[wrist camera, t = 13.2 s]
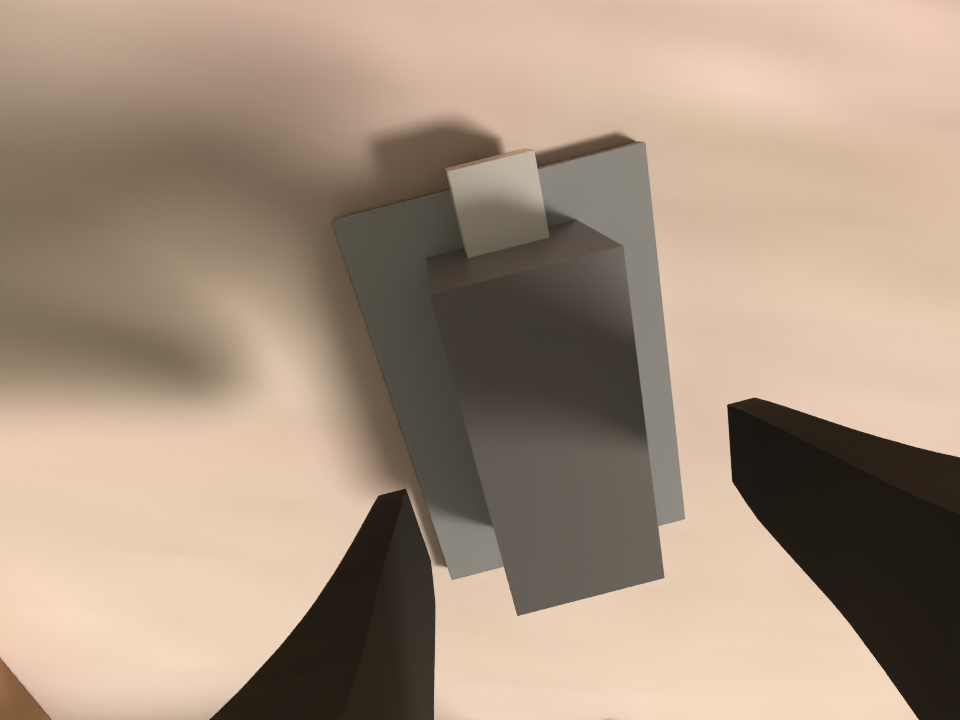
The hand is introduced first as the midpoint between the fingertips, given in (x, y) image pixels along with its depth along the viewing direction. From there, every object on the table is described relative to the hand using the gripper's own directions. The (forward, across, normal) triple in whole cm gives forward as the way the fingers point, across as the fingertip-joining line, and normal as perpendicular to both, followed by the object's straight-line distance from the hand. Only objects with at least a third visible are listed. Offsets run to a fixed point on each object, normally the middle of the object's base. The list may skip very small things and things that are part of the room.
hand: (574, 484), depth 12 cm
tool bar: (+4, 0, 0) cm, 4 cm away
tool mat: (+5, 0, 0) cm, 5 cm away
